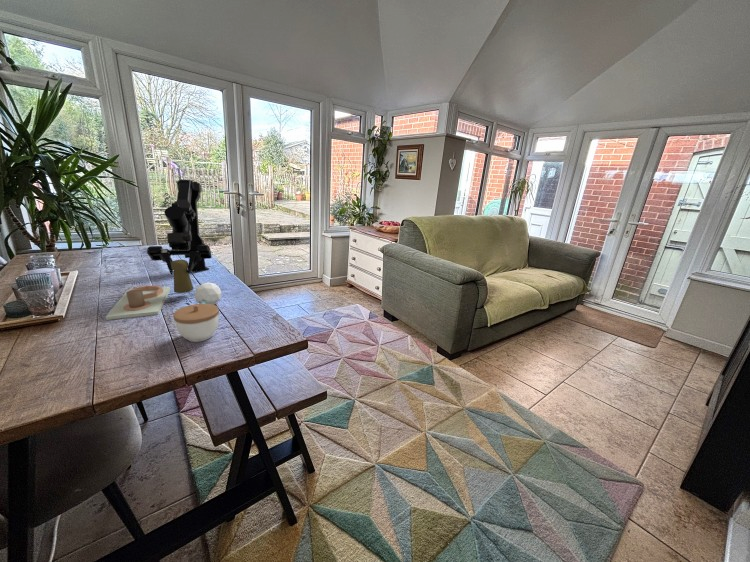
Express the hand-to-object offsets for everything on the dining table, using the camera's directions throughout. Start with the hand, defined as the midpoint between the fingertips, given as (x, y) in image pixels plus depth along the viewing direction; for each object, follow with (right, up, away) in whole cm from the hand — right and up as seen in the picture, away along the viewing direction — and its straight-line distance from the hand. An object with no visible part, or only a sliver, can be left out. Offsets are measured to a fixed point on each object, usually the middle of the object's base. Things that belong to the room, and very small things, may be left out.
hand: (180, 273), depth 104 cm
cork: (-1, -6, +4) cm, 7 cm away
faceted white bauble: (+11, -12, -2) cm, 16 cm away
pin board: (-11, -10, -2) cm, 15 cm away
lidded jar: (+19, -18, -20) cm, 33 cm away
